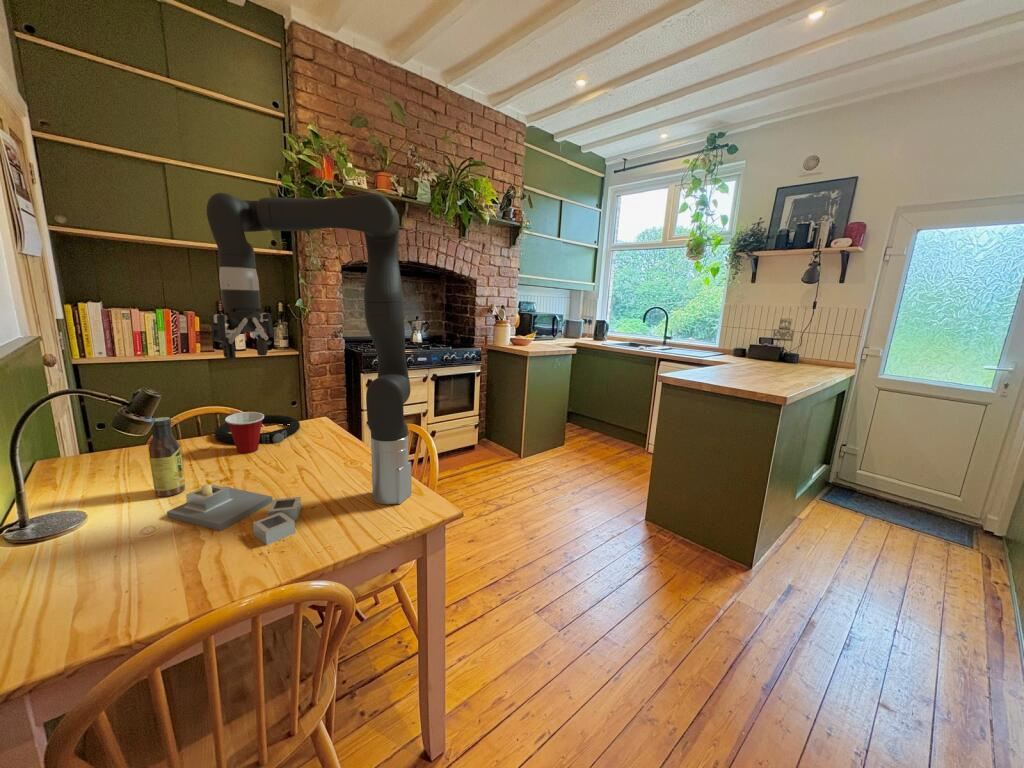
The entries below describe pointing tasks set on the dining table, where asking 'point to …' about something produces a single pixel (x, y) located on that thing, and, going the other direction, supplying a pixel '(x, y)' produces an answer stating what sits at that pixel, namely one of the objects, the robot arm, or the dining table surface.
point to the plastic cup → (245, 430)
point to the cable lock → (273, 436)
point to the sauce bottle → (166, 459)
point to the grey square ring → (208, 498)
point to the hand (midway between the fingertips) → (247, 357)
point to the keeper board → (221, 509)
